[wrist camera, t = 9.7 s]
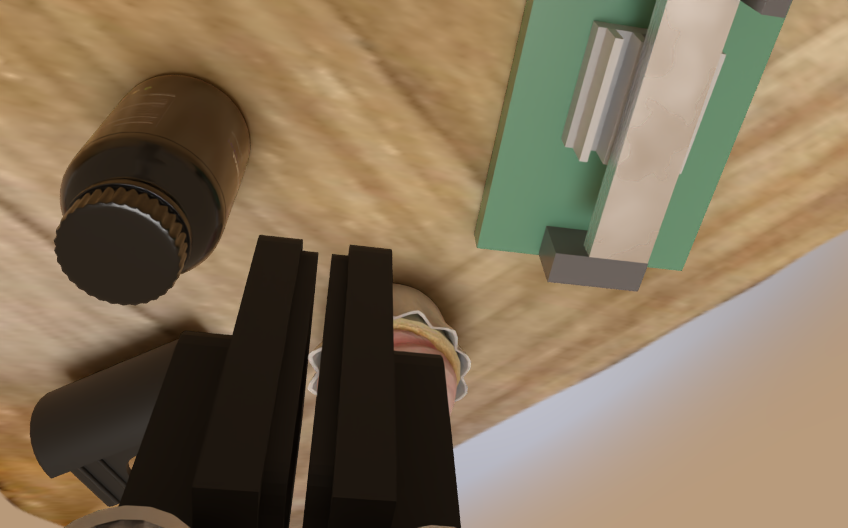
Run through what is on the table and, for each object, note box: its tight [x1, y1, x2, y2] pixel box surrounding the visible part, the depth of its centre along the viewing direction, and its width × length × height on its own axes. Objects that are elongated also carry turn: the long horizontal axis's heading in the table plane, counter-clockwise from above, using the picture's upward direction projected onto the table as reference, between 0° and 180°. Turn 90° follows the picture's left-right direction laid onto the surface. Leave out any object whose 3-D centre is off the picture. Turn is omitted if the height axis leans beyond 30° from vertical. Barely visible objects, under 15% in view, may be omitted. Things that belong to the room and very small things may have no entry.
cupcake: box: [308, 283, 471, 415], centre depth 42 cm, size 9×9×10 cm
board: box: [474, 0, 792, 291], centre depth 36 cm, size 20×12×7 cm, turn 171°
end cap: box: [30, 339, 179, 507], centre depth 45 cm, size 10×7×7 cm
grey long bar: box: [584, 0, 740, 264], centre depth 34 cm, size 15×3×2 cm, turn 171°
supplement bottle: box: [54, 75, 250, 305], centre depth 34 cm, size 7×7×12 cm
